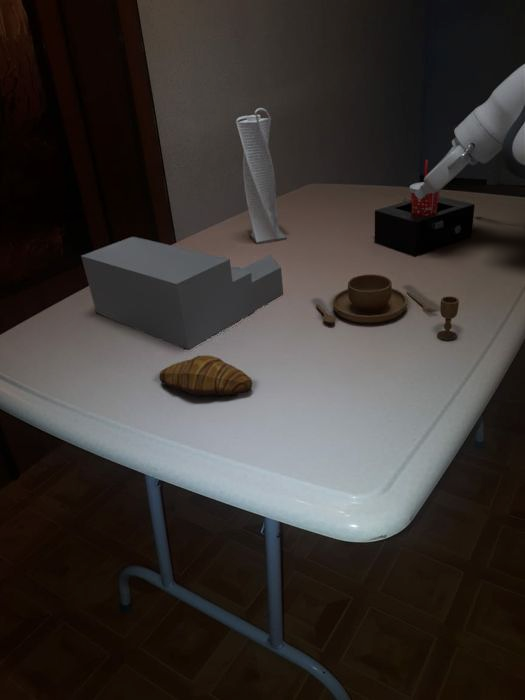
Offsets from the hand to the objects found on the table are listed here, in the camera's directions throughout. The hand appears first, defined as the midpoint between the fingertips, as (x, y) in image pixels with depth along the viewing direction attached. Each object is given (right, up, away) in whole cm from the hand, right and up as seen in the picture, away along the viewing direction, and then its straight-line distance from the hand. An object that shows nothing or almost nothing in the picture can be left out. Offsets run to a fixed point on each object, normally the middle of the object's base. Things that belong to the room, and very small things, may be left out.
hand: (422, 191), depth 113 cm
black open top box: (+1, -9, +5) cm, 10 cm away
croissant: (-40, -38, -37) cm, 67 cm away
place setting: (-14, -28, -25) cm, 40 cm away
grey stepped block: (-45, -24, -12) cm, 53 cm away
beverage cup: (+1, -7, +4) cm, 8 cm away
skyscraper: (-31, -7, +16) cm, 36 cm away
